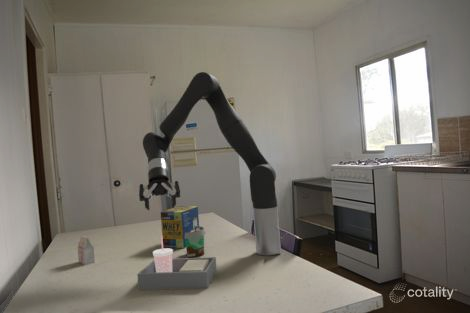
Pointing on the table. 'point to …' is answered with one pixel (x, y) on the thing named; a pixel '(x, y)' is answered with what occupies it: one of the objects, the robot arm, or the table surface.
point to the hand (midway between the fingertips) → (161, 207)
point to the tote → (177, 276)
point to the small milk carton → (85, 251)
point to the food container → (195, 242)
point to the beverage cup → (163, 259)
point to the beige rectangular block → (195, 265)
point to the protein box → (178, 225)
